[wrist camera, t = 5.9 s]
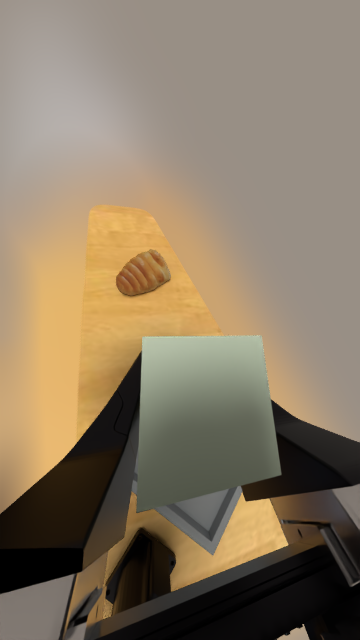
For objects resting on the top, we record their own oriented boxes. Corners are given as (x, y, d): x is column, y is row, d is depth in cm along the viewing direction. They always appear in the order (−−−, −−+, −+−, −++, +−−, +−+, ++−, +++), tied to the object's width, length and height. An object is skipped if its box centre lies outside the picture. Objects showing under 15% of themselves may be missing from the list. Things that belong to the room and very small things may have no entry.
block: (184, 376, 16) (281, 475, 4) (150, 378, 15) (136, 513, 3) (183, 343, 16) (261, 335, 4) (151, 343, 16) (142, 336, 4)
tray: (207, 533, 19) (213, 555, 17) (111, 457, 18) (106, 471, 16) (257, 428, 23) (267, 436, 21) (181, 364, 22) (184, 366, 20)
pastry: (132, 307, 23) (127, 299, 19) (109, 278, 23) (100, 265, 19) (172, 279, 25) (175, 268, 22) (151, 253, 25) (150, 238, 22)
